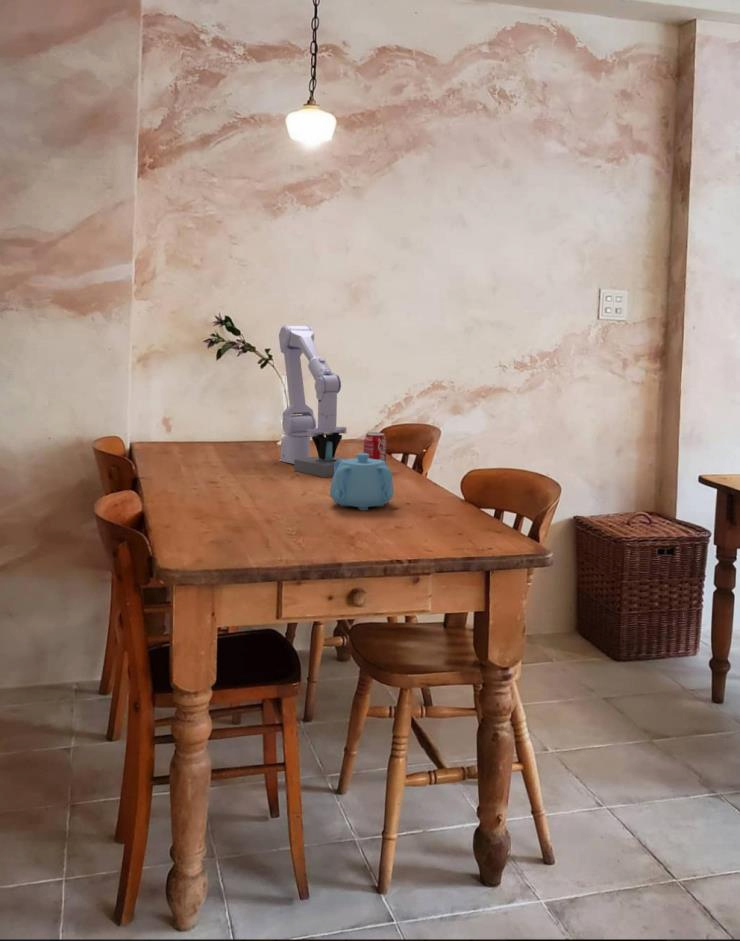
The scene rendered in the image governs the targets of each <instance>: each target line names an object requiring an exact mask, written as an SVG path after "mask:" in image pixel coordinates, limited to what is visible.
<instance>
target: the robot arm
mask: <svg viewBox="0 0 740 941" xmlns="http://www.w3.org/2000/svg"><path fill="white" fill-rule="evenodd" d="M278 340H279V348H280V353H282V354H283V357H284V366H285V375H286V382H287V392H288V400H289V406H288V407H287V408H285V409H284V411H283V412H282V422H281V423H282V424H281V425H282V430H283V432H284V433H285V435H284V436H283V437H282V439H281V446H280V448H281V451H280V452H281V454H280V456H281V457H280V459H278V461H279V462H282V463H287V464H293V465H294V459H301V458H309V457H311V439H312V442H313V443H314V445H315V448H316V452H317V456H319V459H325V455H326V445H327V441H330V442H333V446H332V458H334V456H336V452H337V449H338V446H339V444H340V442H341V440H342V439H343V435H342V434H345V435H346V434H347V427H346V426H337V414H338V411H337V408H338V405H337V404H338V394H339V392H340V391H341V390H342V389H341V388H342V383H341V382H342V381H341V378H340V376H339V375H338V374H335V372H332V370H331V368H330V366H329V364H328V363H327V361H326V359H325V358H324V357H323V356H320V355H319V353H318V350H317V347H316V344H315V343H314V342H315V331H314V329H313V327H312V326H311V325H309V324H308V325H286V324H284V325H282V326H281V328H280V331H279V333H278ZM302 355H304V356H305V358H306V359H307V361H308V365H307V368H308V369H309V372H310V374H311V376H312V377H313V380H314V381H315V382H314V389H315V392H316V399H317V420H316V418H315V415H314V414H315V413H314V410H313V408H311V407H310V406H308V404H307V403H306V397H305V396H306V395H305V388H304V380H303V378H304V377H303V372H302V370H303V369H302V362H301V361H302V360H301V357H302Z"/></svg>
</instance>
